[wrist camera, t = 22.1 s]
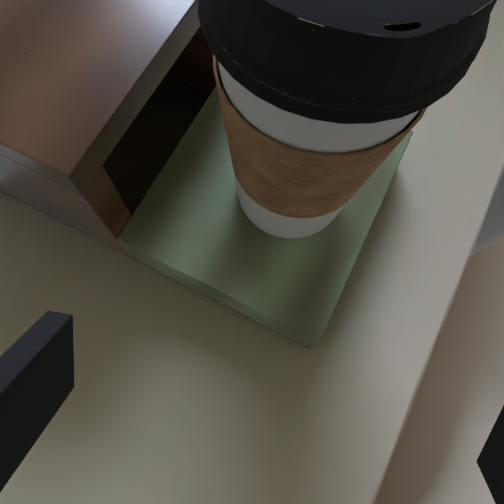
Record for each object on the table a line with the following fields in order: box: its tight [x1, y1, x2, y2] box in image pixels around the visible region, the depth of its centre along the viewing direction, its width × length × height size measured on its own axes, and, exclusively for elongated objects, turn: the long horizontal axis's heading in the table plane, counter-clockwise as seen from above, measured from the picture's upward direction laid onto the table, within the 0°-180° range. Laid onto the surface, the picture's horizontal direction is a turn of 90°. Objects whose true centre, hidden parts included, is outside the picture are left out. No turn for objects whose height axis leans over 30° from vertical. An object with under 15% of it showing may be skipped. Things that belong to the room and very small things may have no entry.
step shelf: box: [0, 0, 413, 348], centre depth 23 cm, size 22×14×10 cm, turn 63°
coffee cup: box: [197, 0, 497, 239], centre depth 17 cm, size 8×8×15 cm
